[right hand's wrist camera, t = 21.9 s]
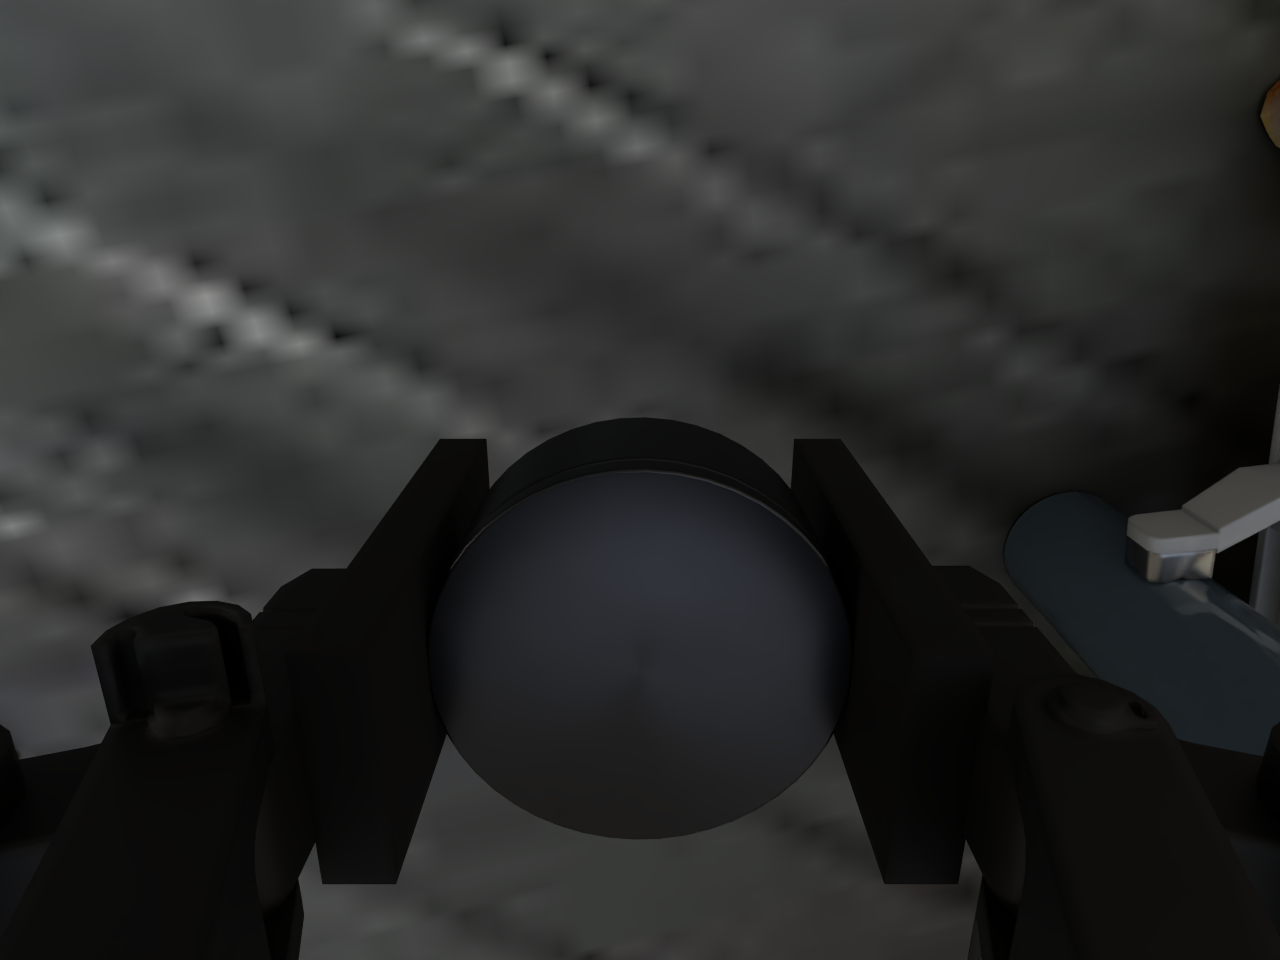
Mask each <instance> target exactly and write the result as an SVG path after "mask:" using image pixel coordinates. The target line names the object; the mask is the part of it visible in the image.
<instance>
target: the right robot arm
mask: <svg viewBox="0 0 1280 960" xmlns="http://www.w3.org/2000/svg"><path fill="white" fill-rule="evenodd" d="M489 490H490V487H489V472H488V457H487V441H486V439H440V440H439V441H438V443H437V444H436V445H435V447H434V448H433V449H432V451H431V452H430V454H429V455H428V456H427V458H426V459H425V461H424V462H423V463H422V465H421V466H420V467H419V469H418V470H417V472H416V473H415V474H414V476H413V477H412V479H411V480H410V481H409V483H408V484H407V485H406V487H405V488H404V490H403V491H402V492H401V494H400V495H399V497H398V498H397V499H396V501H395V502H394V504H393V505H392V506H391V508H390V509H389V510H388V512H387V513H386V515H385V516H384V517H383V519H382V520H381V522H380V523H379V524H378V526H377V527H376V528H375V530H374V531H373V533H372V534H371V535H370V537H369V538H368V540H367V541H366V542H365V544H364V545H363V546H362V548H361V549H360V551H359V552H358V553H357V555H356V556H355V558H354V559H353V560H352V562H351V563H350V565H349V566H348V567H347V569H311V570H309V571H307V572H305V573H304V574H302V575H300V576H299V577H297V578H295V579H294V580H292V581H290V582H288V583H287V584H285V585H283V586H282V587H280V589H279V590H278V591H277V592H276V593H275V595H274V596H273V597H272V598H271V599H270V600H269V602H268V603H267V604H266V605H265V606H264V608H263V612H259V614H258V615H257V616H256V617H255V618H254V619H253V621H252V617H251V614H250V613H249V612H248V611H246V610H245V609H243V608H242V607H240V606H239V605H235V604H230V603H225V602H220V601H195V602H185V603H180V604H175V605H169V606H164V607H159V608H156V609H153V610H150V611H147V612H145V613H142V614H139V615H136V616H133V617H130V618H128V619H127V620H125V621H123V622H121V623H119V624H117V625H116V626H114V627H112V628H110V629H108V630H107V631H105V632H104V633H103V634H102V635H101V636H100V637H99V638H98V639H97V640H96V641H95V642H94V643H93V644H92V645H91V649H92V653H93V657H94V661H95V664H96V668H97V672H98V676H99V680H100V684H101V688H102V692H103V696H104V700H105V704H106V708H107V711H108V715H109V719H110V723H111V725H110V727H109V729H108V731H107V733H106V735H105V737H104V739H103V741H102V743H101V744H97V745H92V746H88V747H84V748H79V749H73V750H68V751H63V752H58V753H52V754H47V755H42V756H37V757H31V758H26V759H21V760H18V756H17V753H16V750H15V747H14V743H13V740H12V737H11V733H10V731H9V730H7V729H6V728H4V727H3V726H2V725H0V960H298V959H299V951H300V943H301V936H302V928H303V920H304V911H303V904H302V897H301V892H300V886H299V881H298V877H299V875H300V873H301V871H302V869H303V867H304V865H305V863H306V861H307V859H308V856H309V854H310V852H311V850H312V848H313V846H314V844H315V842H316V848H317V854H318V860H319V866H320V872H321V878H322V884H396V883H397V880H398V877H399V874H400V871H401V868H402V865H403V862H404V859H405V856H406V853H407V850H408V847H409V844H410V841H411V838H412V835H413V832H414V829H415V826H416V823H417V820H418V817H419V814H420V811H421V809H422V806H423V803H424V800H425V797H426V794H427V791H428V788H429V785H430V782H431V779H432V776H433V773H434V770H435V767H436V764H437V761H438V758H439V755H440V752H441V749H442V746H443V743H444V740H445V737H446V735H447V733H446V731H445V729H444V727H443V724H442V722H441V720H440V718H439V716H438V714H437V711H436V708H435V705H434V701H433V698H432V694H431V689H430V679H429V670H428V659H427V645H426V638H427V632H428V625H429V619H430V614H431V611H432V608H433V605H434V602H435V599H436V596H437V593H438V590H439V588H440V586H441V584H442V581H443V579H444V577H445V575H446V573H447V571H448V569H449V567H450V564H451V562H452V560H453V558H454V556H455V554H456V552H457V550H458V548H459V545H460V543H461V541H462V539H463V537H464V535H465V533H466V531H467V529H468V526H469V524H470V522H471V520H472V518H473V516H474V514H475V512H476V510H477V508H478V506H479V504H480V503H481V501H482V500H483V498H484V497H485V495H486V494H487V493H488V491H489ZM791 490H792V492H793V493H794V494H795V496H796V498H797V499H798V501H799V503H800V504H801V506H802V508H803V509H804V511H805V513H806V515H807V517H808V519H809V521H810V523H811V525H812V528H813V530H814V532H815V534H816V536H817V538H818V540H819V542H820V545H821V547H822V549H823V551H824V553H825V555H826V557H827V560H828V562H829V564H830V566H831V568H832V570H833V572H834V574H835V577H836V579H837V581H838V583H839V586H840V588H841V591H842V593H843V595H844V598H845V600H846V603H847V607H848V611H849V615H850V619H851V623H852V628H853V639H854V655H853V665H852V676H851V685H850V691H849V696H848V700H847V703H846V705H845V708H844V711H843V714H842V716H841V719H840V722H839V724H838V725H837V727H836V729H835V731H834V736H835V739H836V742H837V745H838V748H839V751H840V754H841V757H842V760H843V763H844V765H845V768H846V771H847V774H848V777H849V780H850V783H851V786H852V789H853V792H854V795H855V798H856V801H857V804H858V807H859V810H860V813H861V816H862V819H863V822H864V825H865V828H866V831H867V834H868V837H869V839H870V842H871V845H872V848H873V851H874V854H875V857H876V860H877V863H878V866H879V869H880V872H881V875H882V878H883V881H884V884H958V881H959V875H960V869H961V863H962V857H963V851H964V845H965V839H966V840H967V842H968V845H969V847H970V849H971V851H972V853H973V855H974V857H975V859H976V861H977V863H978V865H979V867H980V870H981V872H982V874H983V875H982V881H981V886H980V892H979V897H978V903H977V909H976V914H975V920H974V925H973V931H972V937H971V942H970V948H969V954H968V960H980V959H981V957H982V960H1280V722H1279V723H1278V724H1276V725H1275V726H1273V727H1272V729H1271V733H1270V736H1269V739H1268V742H1267V746H1266V749H1265V752H1264V756H1259V755H1254V754H1249V753H1244V752H1238V751H1233V750H1228V749H1223V748H1217V747H1212V746H1207V745H1201V744H1196V743H1192V742H1188V741H1184V740H1180V739H1177V737H1176V736H1175V734H1174V732H1173V730H1172V728H1171V726H1170V724H1169V723H1168V721H1167V720H1166V719H1165V718H1164V717H1163V716H1162V714H1161V713H1160V712H1159V711H1158V710H1157V708H1156V707H1155V706H1153V705H1152V704H1150V703H1148V702H1147V701H1145V700H1144V699H1142V698H1141V697H1139V696H1138V695H1136V694H1135V693H1133V692H1131V691H1129V690H1126V689H1124V688H1122V687H1119V686H1117V685H1114V684H1112V683H1109V682H1107V681H1104V680H1100V679H1095V678H1091V677H1086V676H1082V675H1077V674H1076V673H1075V671H1074V670H1073V669H1072V668H1071V667H1070V665H1069V664H1068V663H1067V662H1066V661H1065V660H1064V658H1063V657H1062V656H1061V655H1060V654H1059V653H1058V651H1057V650H1056V649H1055V648H1054V647H1053V646H1052V644H1051V643H1050V642H1049V641H1048V640H1047V638H1046V637H1045V636H1044V635H1043V634H1042V633H1041V631H1040V630H1039V629H1038V628H1037V627H1033V622H1032V621H1031V620H1030V619H1029V617H1028V616H1027V615H1026V614H1025V613H1024V611H1023V610H1022V609H1018V604H1017V603H1016V602H1015V601H1014V600H1013V599H1012V597H1011V596H1010V595H1009V594H1008V593H1007V592H1006V590H1005V589H1004V588H1003V587H1002V586H1001V584H999V583H998V582H996V581H994V580H992V579H991V578H989V577H987V576H986V575H984V574H982V573H980V572H979V571H977V570H975V569H974V568H972V567H970V566H932V565H931V564H930V562H929V561H928V560H927V558H926V557H925V555H924V554H923V553H922V551H921V550H920V548H919V547H918V546H917V544H916V543H915V542H914V540H913V539H912V537H911V536H910V535H909V533H908V532H907V530H906V529H905V528H904V526H903V525H902V524H901V522H900V521H899V519H898V518H897V517H896V515H895V514H894V512H893V511H892V510H891V508H890V507H889V505H888V504H887V503H886V501H885V500H884V499H883V497H882V496H881V494H880V493H879V492H878V490H877V489H876V487H875V486H874V485H873V483H872V482H871V481H870V479H869V478H868V476H867V475H866V474H865V472H864V471H863V469H862V468H861V467H860V465H859V464H858V463H857V461H856V460H855V458H854V457H853V456H852V454H851V453H850V451H849V450H848V449H847V447H846V446H845V445H844V443H843V442H842V440H841V439H794V450H793V465H792V480H791Z"/></svg>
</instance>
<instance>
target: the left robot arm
mask: <svg viewBox="0 0 1280 960" xmlns="http://www.w3.org/2000/svg"><path fill="white" fill-rule="evenodd" d="M1257 532H1259V534H1258V541H1257V548H1256V555H1255V562H1254V569H1253V576H1252V583H1251V590H1250V597H1249V604H1248V605H1249V606H1251V607H1252V608H1253V609H1255V610H1256V611H1258V612H1259V613H1260V614H1262V615H1263V616H1264V617H1266V618H1267V619H1268V620H1270V621H1271V622H1273V623H1274V624H1275V625H1277V626H1278V627H1279V628H1280V386H1279V393H1278V400H1277V407H1276V414H1275V421H1274V428H1273V435H1272V442H1271V449H1270V456H1269V463H1268V464H1265V465H1257V466H1249V467H1240V468H1238V469H1236V470H1235V471H1233V472H1232V473H1230V474H1229V475H1227V476H1226V477H1224V478H1223V479H1221V480H1220V481H1218V482H1217V483H1215V484H1214V485H1212V486H1211V487H1209V488H1208V489H1206V490H1205V491H1203V492H1202V493H1200V494H1199V495H1197V496H1196V497H1194V498H1193V499H1191V500H1190V501H1188V502H1187V503H1185V504H1184V505H1182V509H1180V510H1171V511H1163V512H1154V513H1145V514H1137V515H1133V516H1131V517H1129V518H1128V527H1127V538H1126V551H1125V564H1126V565H1127V566H1128V567H1129V568H1135V569H1136V571H1137V573H1138V575H1139V576H1140V577H1142V578H1143V579H1145V580H1147V581H1150V582H1155V583H1170V582H1175V581H1176V580H1178V579H1179V578H1181V577H1183V578H1185V579H1187V580H1200V579H1209V578H1212V573H1213V567H1214V561H1215V555H1216V553H1219V552H1221V551H1223V550H1225V549H1227V548H1229V547H1231V546H1233V545H1234V544H1236V543H1238V542H1240V541H1242V540H1244V539H1246V538H1248V537H1250V536H1252V535H1253V534H1255V533H1257Z"/></svg>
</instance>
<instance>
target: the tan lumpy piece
mask: <svg viewBox="0 0 1280 960" xmlns="http://www.w3.org/2000/svg"><path fill="white" fill-rule="evenodd" d="M1260 116H1261V119H1262V121H1263V124H1264V126H1265V129H1266V131H1267V133H1268V135H1269V137H1270V138H1271V139H1272V141H1273V142H1274V144H1275V145H1276V146H1277V147H1279V148H1280V80H1279V81H1278V82H1277V83H1276V84H1275V85H1274V86H1273V87H1272V88H1271V89H1270V90H1269V91H1268V93H1267V97H1266V100H1265V103H1264V106H1263V109H1262V112H1261V115H1260Z"/></svg>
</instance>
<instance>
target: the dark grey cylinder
mask: <svg viewBox="0 0 1280 960" xmlns="http://www.w3.org/2000/svg"><path fill="white" fill-rule="evenodd" d="M1128 518H1129V517H1128V516H1127V515H1125V514H1124V513H1123V512H1121V511H1120V510H1118V509H1117V508H1116V507H1114V506H1113V505H1112V504H1110V503H1109V502H1108V501H1106V500H1104V499H1103V498H1101V497H1099V496H1096V495H1093V494H1089V493H1084V492H1066V493H1060V494H1056V495H1053V496H1050V497H1047V498H1045V499H1043V500H1041V501H1039V502H1037V503H1036V504H1034V505H1033V506H1031V507H1030V508H1029V509H1028V510H1026V511H1025V512H1024V513H1023V514H1022V515H1021V516H1020V517H1019V519H1018V520H1017V521H1016V522H1015V524H1014V525H1013V527H1012V529H1011V530H1010V533H1009V535H1008V537H1007V541H1006V544H1005V551H1004V560H1005V566H1006V569H1007V573H1008V575H1009V576H1010V578H1011V580H1012V581H1013V583H1014V584H1015V585H1016V586H1017V587H1018V588H1019V590H1020V591H1021V592H1022V593H1023V594H1024V595H1025V596H1026V598H1027V599H1028V600H1029V601H1030V602H1031V603H1032V604H1033V605H1034V607H1035V608H1036V609H1037V610H1038V611H1039V612H1040V613H1041V615H1042V616H1043V617H1044V618H1045V619H1046V620H1047V621H1048V622H1049V624H1050V625H1051V626H1052V627H1053V628H1054V629H1055V630H1056V632H1057V633H1058V634H1059V635H1060V636H1061V637H1062V638H1063V639H1064V641H1065V642H1066V643H1067V644H1068V645H1069V646H1070V647H1071V649H1072V650H1073V651H1074V652H1075V653H1076V654H1077V655H1078V656H1079V658H1080V659H1081V660H1082V661H1083V662H1084V663H1085V664H1086V666H1087V667H1088V668H1089V669H1090V670H1091V671H1092V672H1093V673H1094V675H1095V676H1096V677H1097V678H1098V679H1100V680H1104V681H1107V682H1109V683H1112V684H1114V685H1117V686H1119V687H1122V688H1124V689H1126V690H1129V691H1131V692H1133V693H1135V694H1136V695H1138V696H1139V697H1141V698H1142V699H1144V700H1145V701H1147V702H1148V703H1150V704H1152V705H1153V706H1155V707H1156V708H1157V710H1158V711H1159V712H1160V713H1161V714H1162V716H1163V717H1164V718H1165V719H1166V720H1167V721H1168V723H1169V724H1170V726H1171V728H1172V730H1173V732H1174V734H1175V736H1176V737H1177V739H1180V740H1184V741H1188V742H1192V743H1196V744H1201V745H1207V746H1212V747H1217V748H1223V749H1228V750H1233V751H1238V752H1244V753H1249V754H1254V755H1259V756H1264V752H1265V749H1266V746H1267V742H1268V739H1269V736H1270V733H1271V729H1272V727H1273V726H1275V725H1276V724H1278V723H1279V722H1280V628H1279V627H1278V626H1277V625H1275V624H1274V623H1273V622H1271V621H1270V620H1268V619H1267V618H1266V617H1264V616H1263V615H1262V614H1260V613H1259V612H1258V611H1256V610H1255V609H1253V608H1252V607H1251V606H1249V605H1248V604H1247V603H1245V602H1244V601H1243V600H1241V599H1240V598H1238V597H1237V596H1236V595H1234V594H1233V593H1232V592H1230V591H1229V590H1228V589H1226V588H1225V587H1223V586H1222V585H1221V584H1219V583H1218V582H1217V581H1215V580H1214V579H1213V578H1209V579H1200V580H1187V579H1185V578H1183V577H1181V578H1179V579H1178V580H1176V581H1175V582H1170V583H1155V582H1150V581H1147V580H1145V579H1143V578H1142V577H1140V576H1139V575H1138V573H1137V571H1136V569H1135V568H1129V567H1128V566H1127V565H1126V564H1125V551H1126V538H1127V527H1128Z"/></svg>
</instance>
